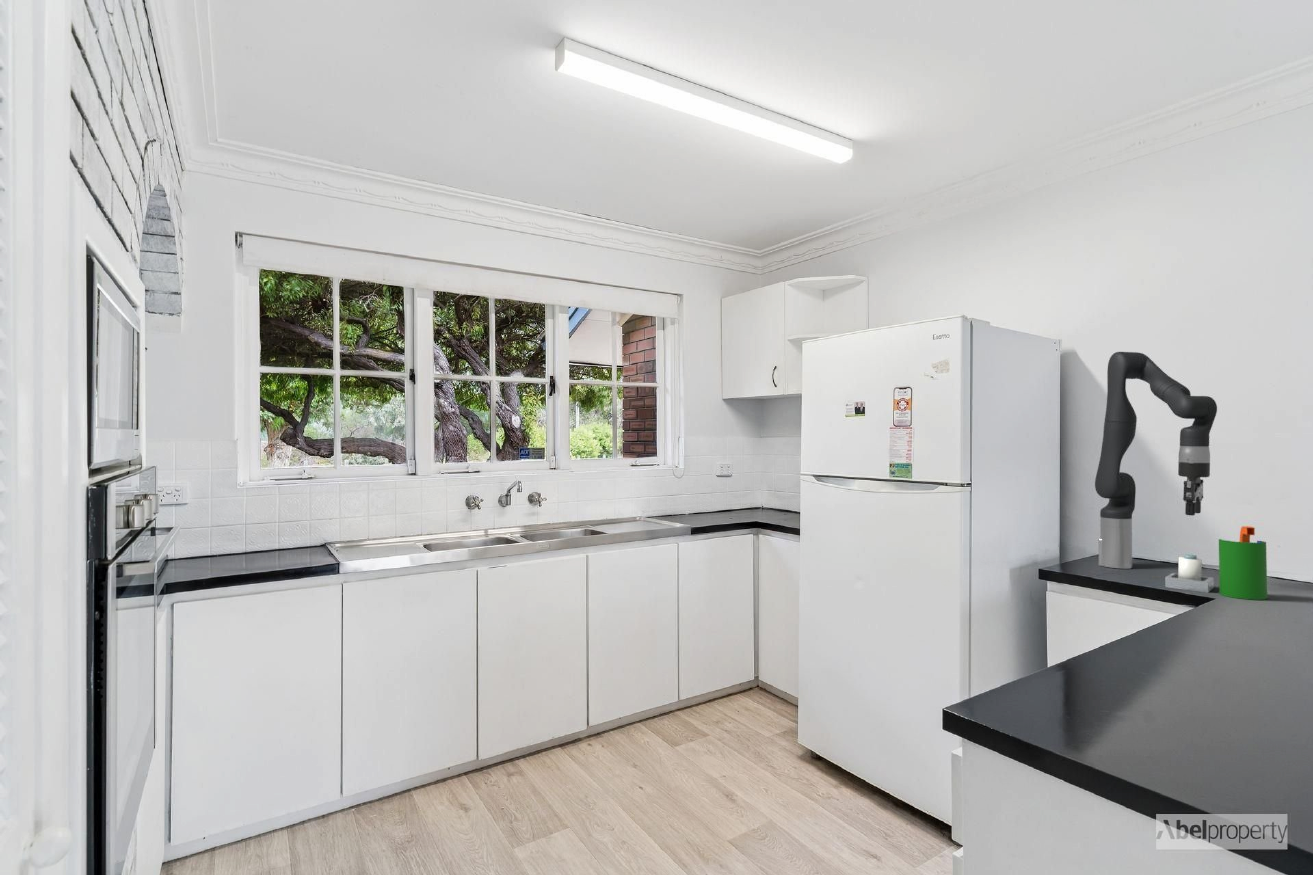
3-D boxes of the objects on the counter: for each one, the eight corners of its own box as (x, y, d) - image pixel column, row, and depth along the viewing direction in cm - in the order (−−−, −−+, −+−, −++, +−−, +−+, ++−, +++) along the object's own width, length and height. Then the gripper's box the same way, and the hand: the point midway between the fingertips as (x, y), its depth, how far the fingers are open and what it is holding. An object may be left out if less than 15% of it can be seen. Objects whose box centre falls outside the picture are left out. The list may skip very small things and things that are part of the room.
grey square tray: (1165, 587, 201) (1165, 577, 201) (1172, 582, 208) (1171, 572, 208) (1208, 592, 194) (1208, 582, 194) (1213, 587, 200) (1213, 577, 201)
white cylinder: (1176, 584, 201) (1176, 554, 201) (1180, 582, 205) (1181, 552, 204) (1198, 588, 197) (1199, 557, 197) (1202, 585, 200) (1203, 555, 200)
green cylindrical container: (1251, 593, 193) (1251, 524, 193) (1277, 600, 184) (1276, 527, 184) (1213, 592, 194) (1213, 523, 194) (1237, 599, 185) (1236, 527, 185)
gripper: (1183, 460, 212) (1182, 511, 212) (1173, 461, 202) (1172, 514, 202) (1214, 461, 206) (1213, 513, 206) (1205, 462, 197) (1204, 517, 197)
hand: (1193, 514), depth 204 cm, fingers open, 8 cm apart
